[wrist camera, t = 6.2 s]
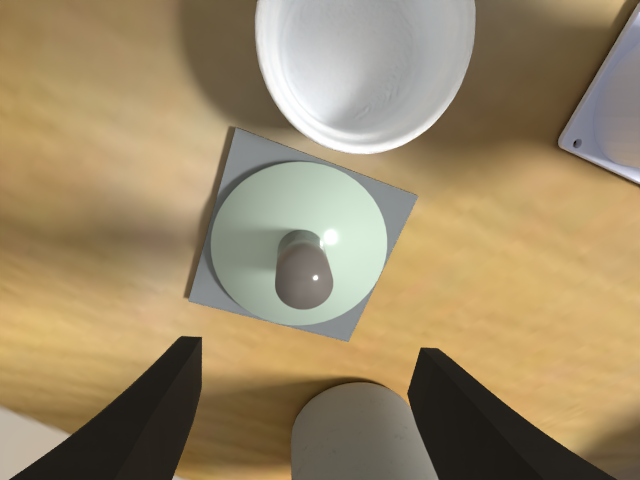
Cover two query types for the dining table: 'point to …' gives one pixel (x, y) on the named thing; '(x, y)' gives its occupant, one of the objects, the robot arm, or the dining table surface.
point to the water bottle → (358, 437)
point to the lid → (298, 243)
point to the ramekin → (363, 66)
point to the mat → (260, 153)
